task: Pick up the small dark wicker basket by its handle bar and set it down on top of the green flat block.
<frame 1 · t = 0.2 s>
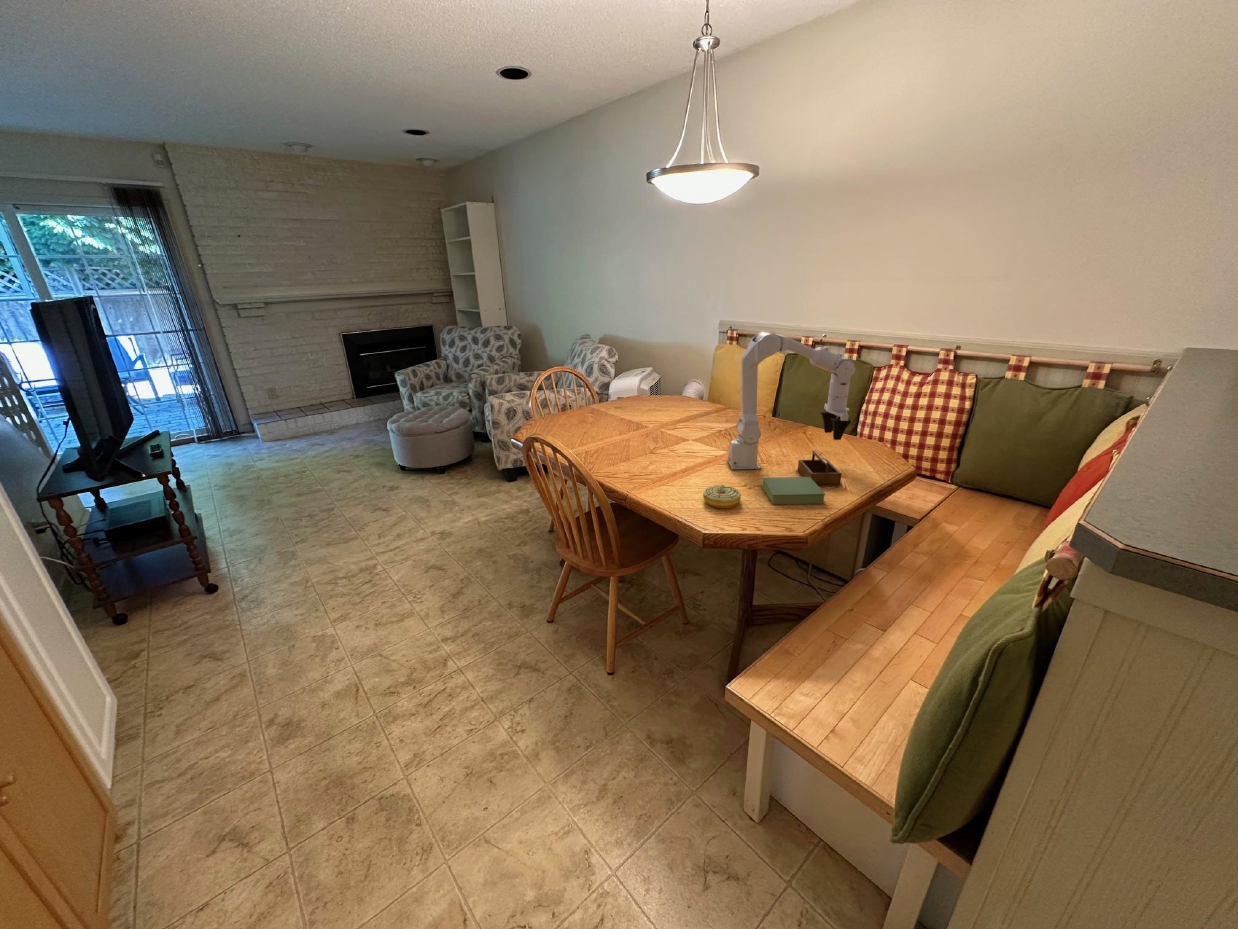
hand: (832, 435, 158), 10 cm above the table, tool pointing down, fingers open, 7 cm apart
basket: (817, 478, 151), on the table
green flat block: (791, 494, 140), on the table
decorated donut: (721, 502, 137), on the table
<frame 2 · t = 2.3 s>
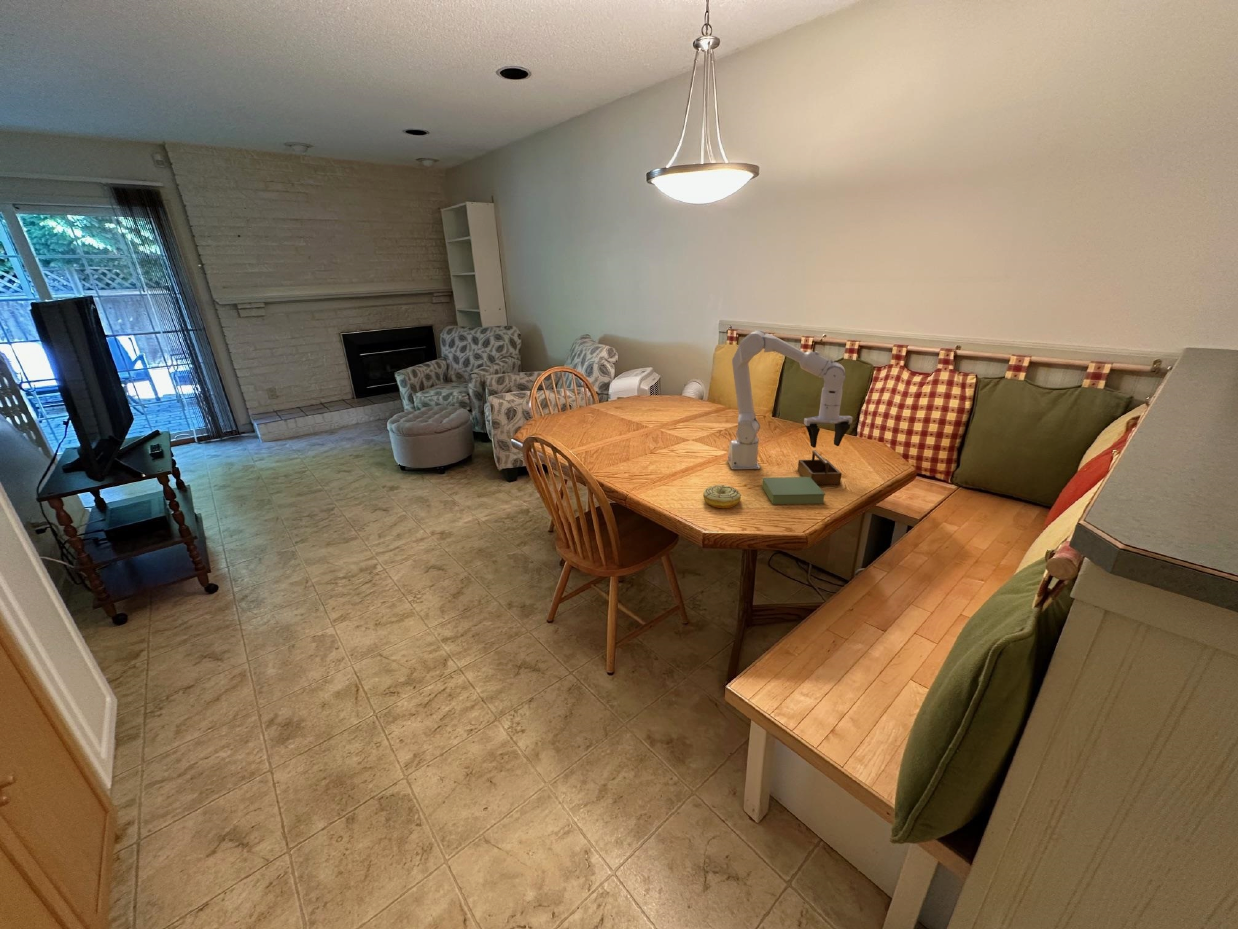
hand: (824, 445, 150), 10 cm above the table, tool pointing down, fingers open, 7 cm apart
nothing on the table moved.
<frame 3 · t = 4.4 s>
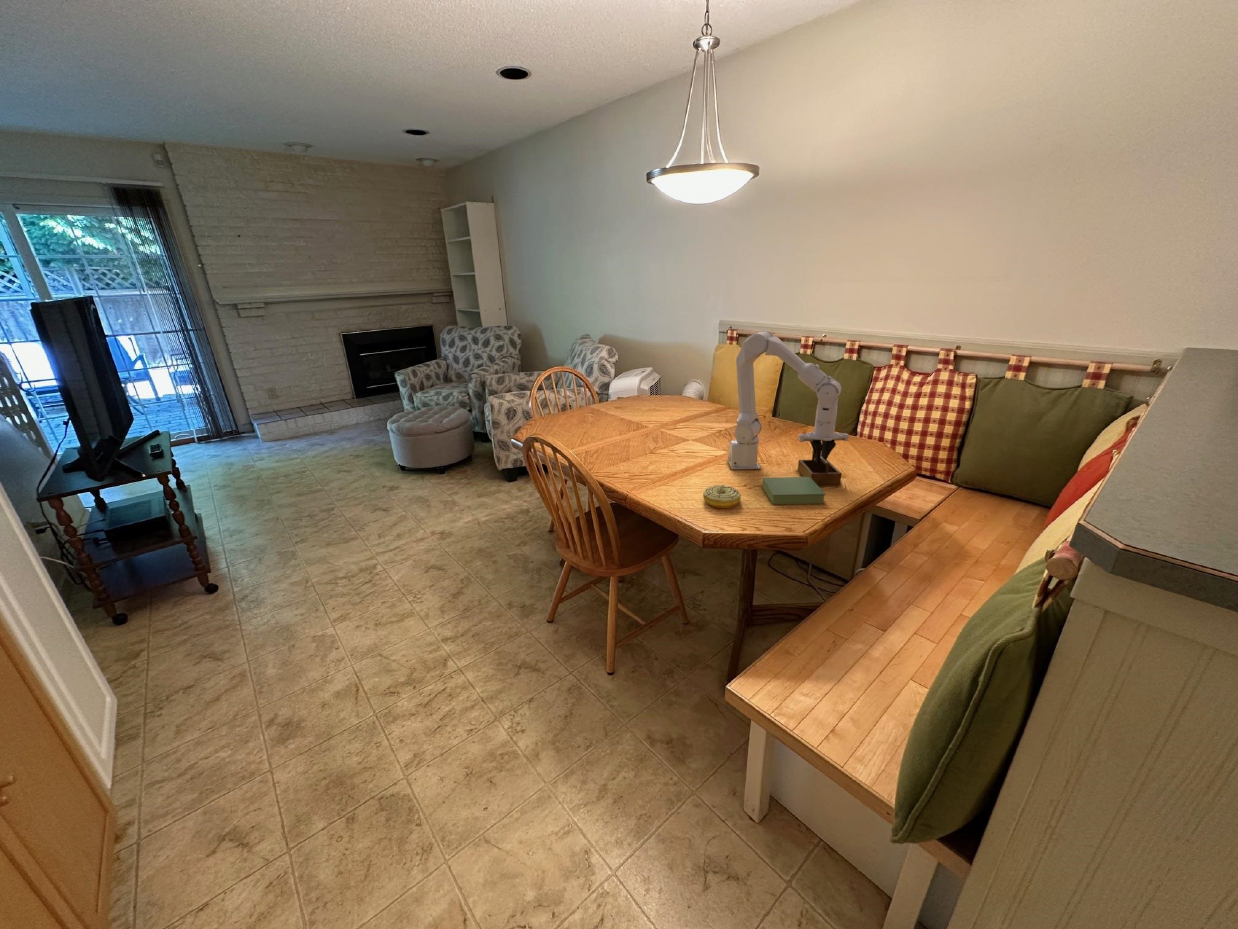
hand: (819, 462, 149), 5 cm above the table, tool pointing down, fingers closed on basket
basket: (817, 478, 151), on the table, touching gripper
everything else where it was.
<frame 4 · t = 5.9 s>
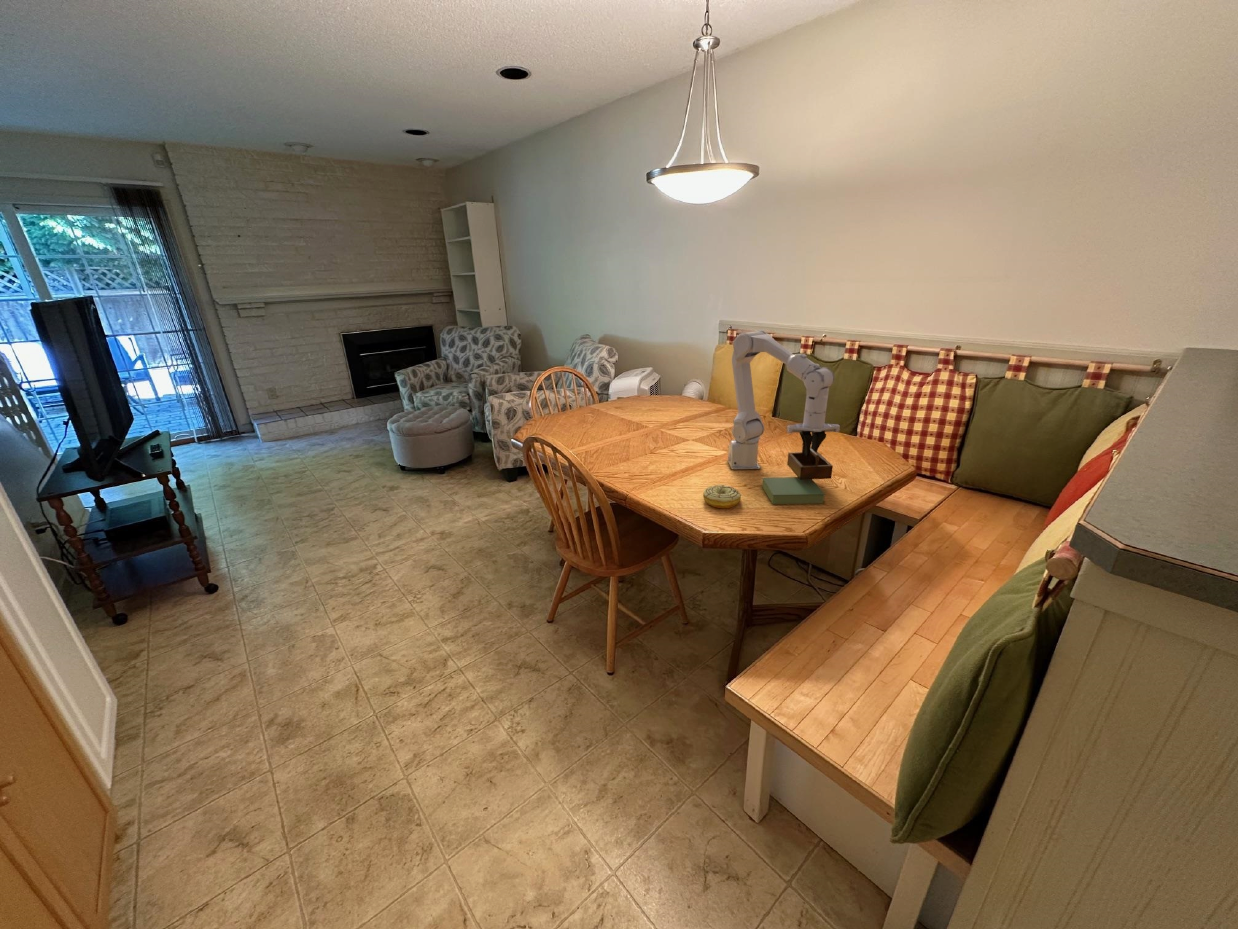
hand: (809, 455, 142), 10 cm above the table, tool pointing down, fingers closed on basket
basket: (808, 471, 144), point 5 cm above the table, touching gripper
everything else where it was.
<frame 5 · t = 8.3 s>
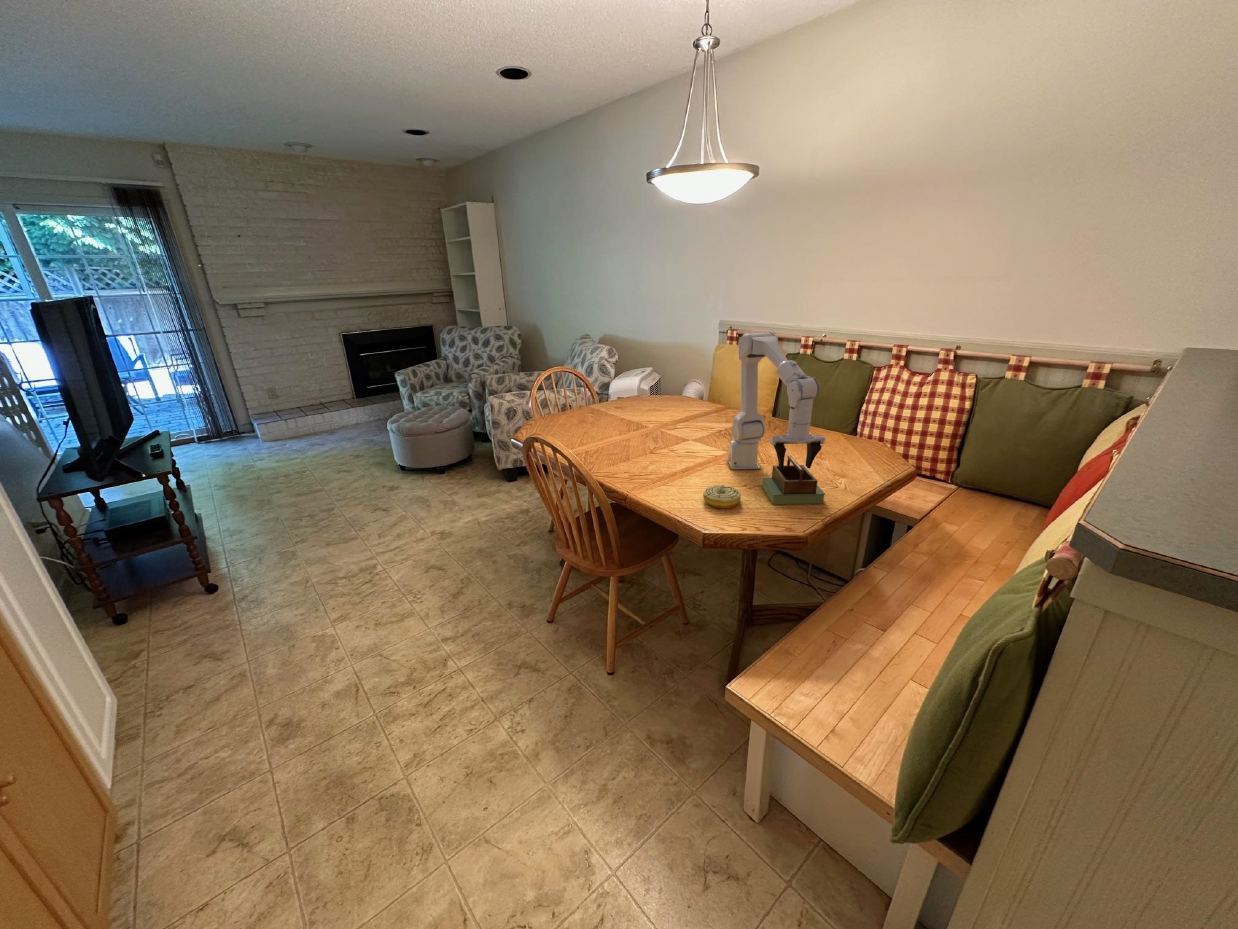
hand: (794, 467, 137), 9 cm above the table, tool pointing down, fingers open, 7 cm apart
basket: (792, 485, 139), point 3 cm above the table, touching green flat block
everything else where it was.
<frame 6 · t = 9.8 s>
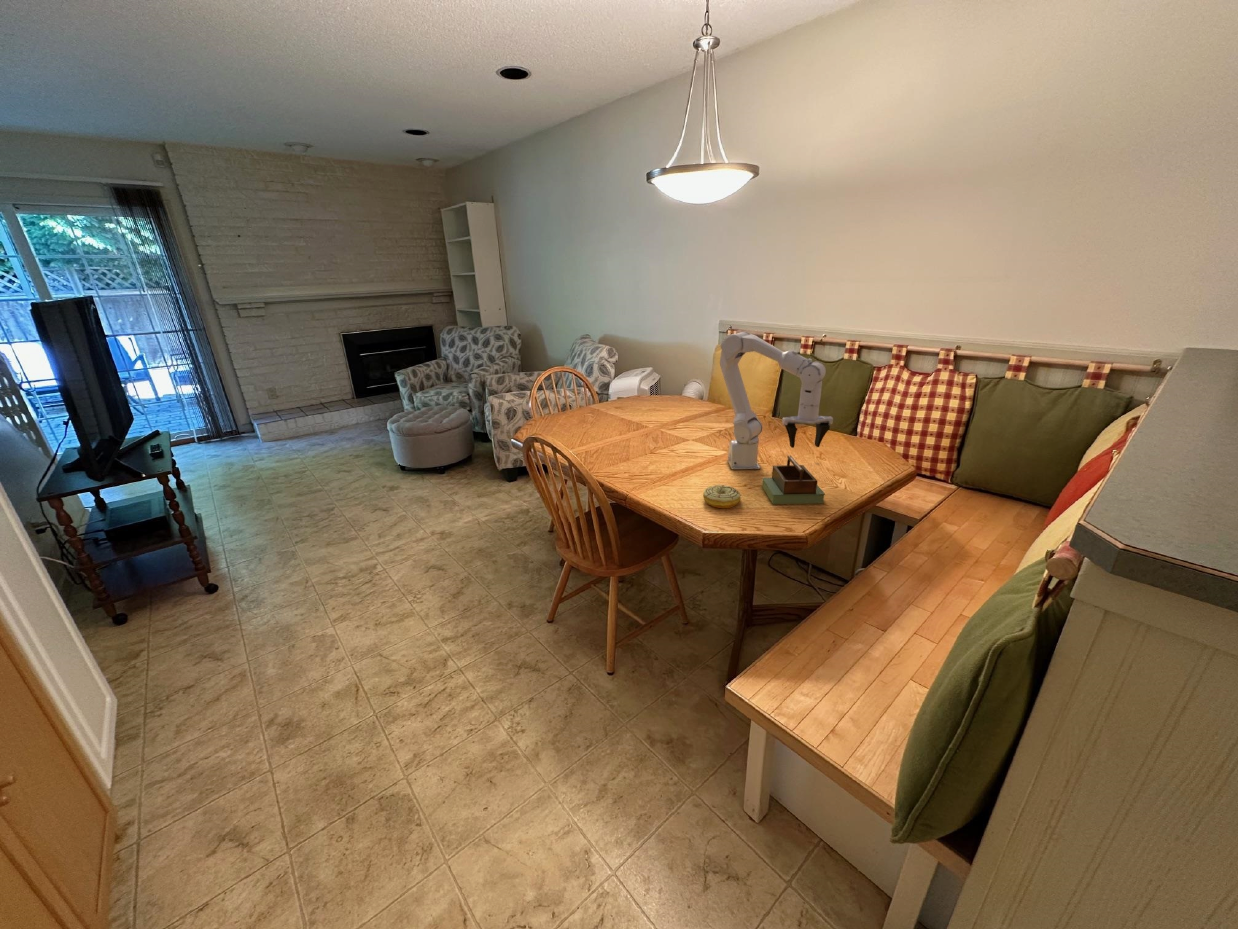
hand: (804, 446, 148), 10 cm above the table, tool pointing down, fingers open, 7 cm apart
nothing on the table moved.
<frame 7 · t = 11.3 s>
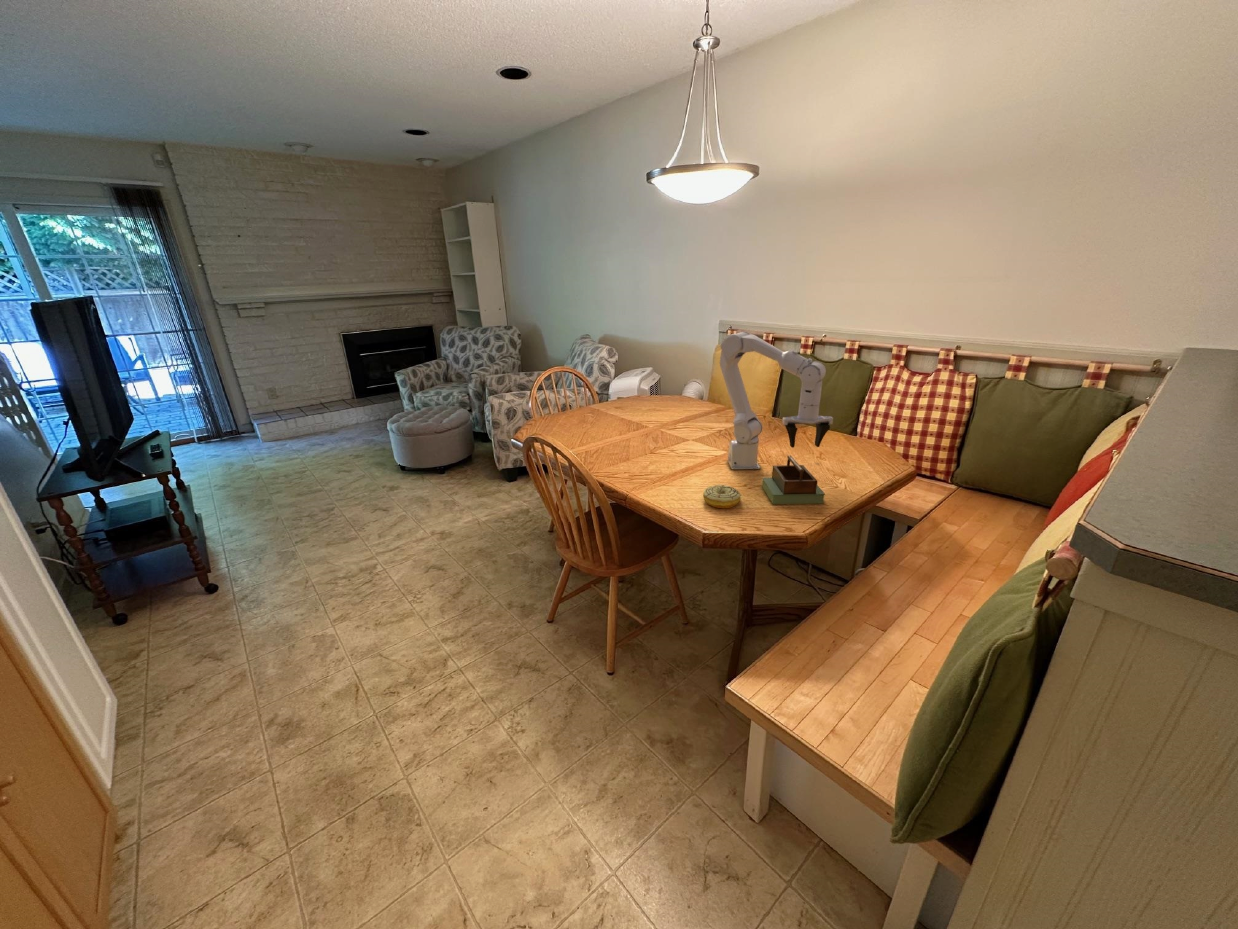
hand: (804, 446, 148), 10 cm above the table, tool pointing down, fingers open, 7 cm apart
nothing on the table moved.
at the end: basket inside the target area on the green flat block (0.1 cm from its centre), point 3.0 cm above the green flat block's base; basket tilted 0°; the gripper is holding nothing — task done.
